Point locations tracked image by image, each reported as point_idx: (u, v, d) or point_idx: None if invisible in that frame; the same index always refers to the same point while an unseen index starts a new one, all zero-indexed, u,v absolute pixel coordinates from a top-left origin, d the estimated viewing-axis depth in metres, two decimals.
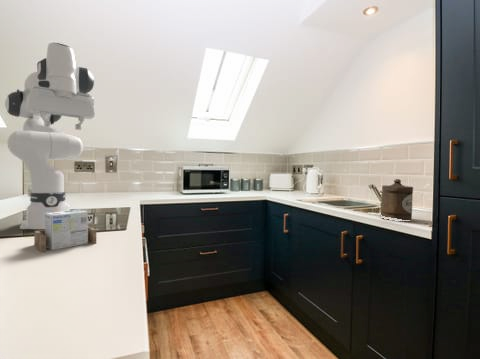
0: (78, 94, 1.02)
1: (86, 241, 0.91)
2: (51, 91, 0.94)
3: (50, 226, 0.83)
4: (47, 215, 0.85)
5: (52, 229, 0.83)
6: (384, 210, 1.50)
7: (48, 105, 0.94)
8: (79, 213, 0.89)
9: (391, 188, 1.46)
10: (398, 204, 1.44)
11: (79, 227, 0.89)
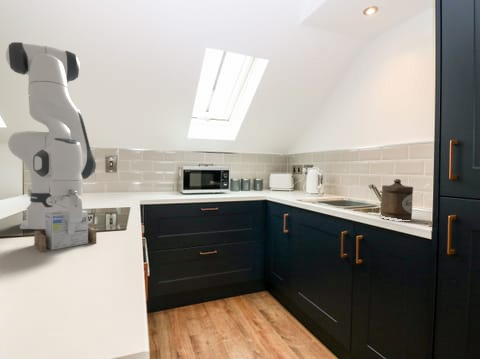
0: (69, 193, 0.85)
1: (86, 241, 0.91)
2: (53, 196, 0.89)
3: (50, 226, 0.83)
4: (47, 215, 0.85)
5: (52, 229, 0.83)
6: (384, 210, 1.50)
7: (56, 210, 0.91)
8: None
9: (391, 188, 1.46)
10: (398, 204, 1.44)
11: (79, 226, 0.89)
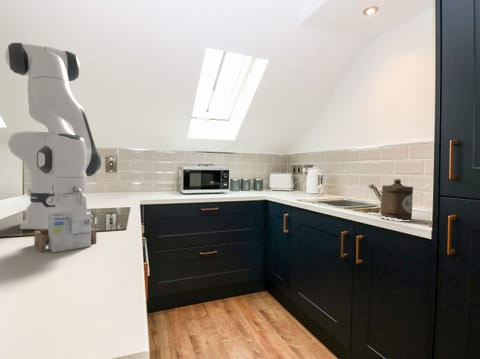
0: (73, 190, 0.82)
1: (89, 244, 0.87)
2: (56, 193, 0.86)
3: (51, 228, 0.81)
4: (49, 216, 0.82)
5: (53, 231, 0.80)
6: (384, 210, 1.50)
7: (59, 208, 0.88)
8: None
9: (391, 188, 1.46)
10: (398, 204, 1.44)
11: (82, 229, 0.86)
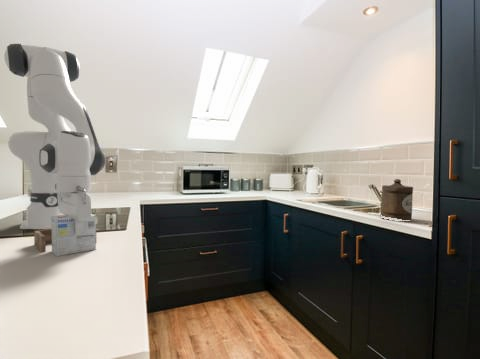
0: (77, 190, 0.79)
1: (94, 247, 0.85)
2: (60, 193, 0.84)
3: (55, 230, 0.78)
4: (53, 218, 0.80)
5: (57, 234, 0.78)
6: (384, 210, 1.50)
7: (63, 208, 0.85)
8: None
9: (391, 188, 1.46)
10: (398, 204, 1.44)
11: (86, 231, 0.83)
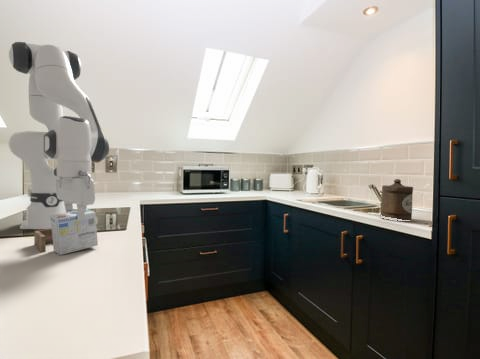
0: (79, 174, 0.79)
1: (96, 243, 0.86)
2: (59, 178, 0.83)
3: (56, 230, 0.78)
4: (52, 218, 0.79)
5: (59, 233, 0.78)
6: (384, 210, 1.50)
7: (62, 194, 0.85)
8: (86, 214, 0.83)
9: (391, 188, 1.46)
10: (398, 204, 1.44)
11: (87, 229, 0.83)
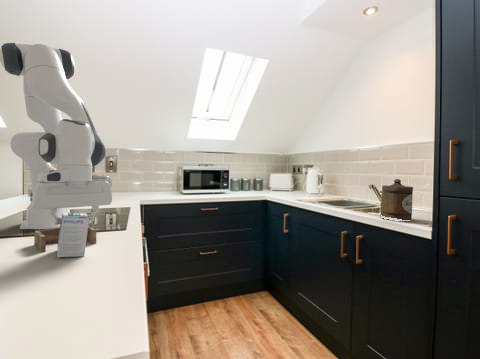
0: (94, 178, 0.84)
1: None
2: (62, 184, 0.76)
3: (84, 231, 0.78)
4: (74, 220, 0.77)
5: None
6: (384, 210, 1.50)
7: (58, 200, 0.77)
8: None
9: (391, 188, 1.46)
10: (398, 204, 1.44)
11: None
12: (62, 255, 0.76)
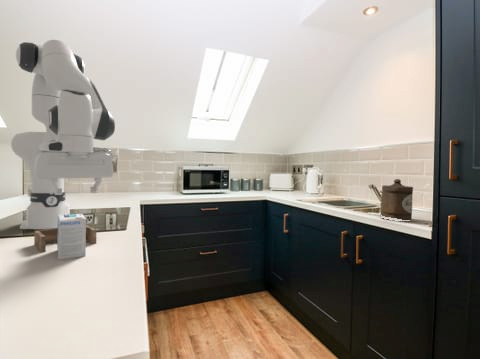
0: (95, 150, 0.84)
1: None
2: (64, 154, 0.77)
3: (82, 231, 0.78)
4: (71, 221, 0.76)
5: (85, 234, 0.79)
6: (384, 210, 1.50)
7: (60, 171, 0.77)
8: (83, 215, 0.85)
9: (391, 188, 1.46)
10: (398, 204, 1.44)
11: None
12: (63, 257, 0.76)
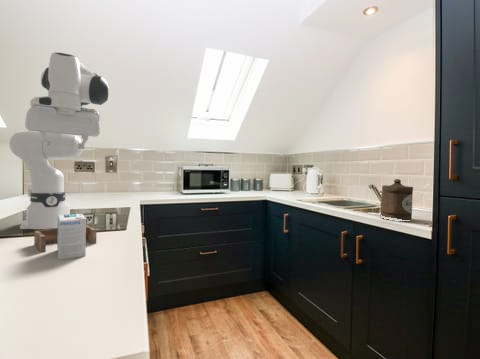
0: (82, 110, 0.92)
1: None
2: (53, 109, 0.84)
3: (82, 231, 0.78)
4: (71, 221, 0.76)
5: (85, 234, 0.79)
6: (384, 210, 1.50)
7: (49, 124, 0.85)
8: (83, 215, 0.85)
9: (391, 188, 1.46)
10: (398, 204, 1.44)
11: None
12: (63, 257, 0.76)
